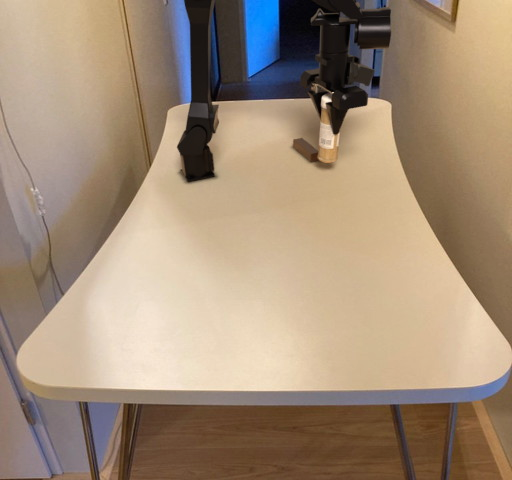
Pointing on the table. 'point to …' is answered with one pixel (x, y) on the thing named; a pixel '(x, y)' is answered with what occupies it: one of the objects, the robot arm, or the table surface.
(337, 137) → the spice jar
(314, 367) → the table surface
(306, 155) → the walnut rail
